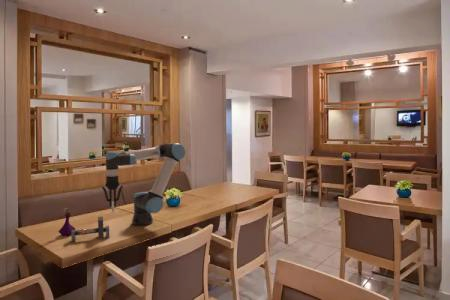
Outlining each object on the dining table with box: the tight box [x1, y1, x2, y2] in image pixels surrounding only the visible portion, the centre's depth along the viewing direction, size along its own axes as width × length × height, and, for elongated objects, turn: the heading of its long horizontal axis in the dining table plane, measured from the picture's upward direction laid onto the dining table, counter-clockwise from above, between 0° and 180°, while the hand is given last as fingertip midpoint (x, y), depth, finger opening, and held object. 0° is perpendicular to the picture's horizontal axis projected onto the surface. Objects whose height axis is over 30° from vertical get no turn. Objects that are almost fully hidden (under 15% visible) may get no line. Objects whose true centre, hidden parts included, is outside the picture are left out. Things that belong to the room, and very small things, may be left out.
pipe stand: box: [71, 225, 110, 243], centre depth 200 cm, size 22×5×7 cm, turn 112°
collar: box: [97, 216, 105, 239], centre depth 202 cm, size 3×9×12 cm, turn 22°
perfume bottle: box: [58, 208, 76, 237], centre depth 208 cm, size 8×8×18 cm
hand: (112, 211), depth 204 cm, fingers closed
